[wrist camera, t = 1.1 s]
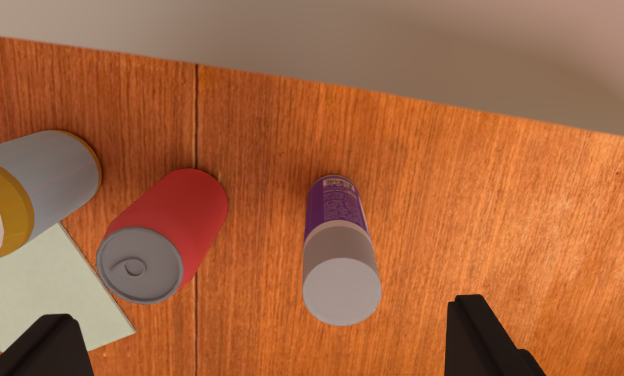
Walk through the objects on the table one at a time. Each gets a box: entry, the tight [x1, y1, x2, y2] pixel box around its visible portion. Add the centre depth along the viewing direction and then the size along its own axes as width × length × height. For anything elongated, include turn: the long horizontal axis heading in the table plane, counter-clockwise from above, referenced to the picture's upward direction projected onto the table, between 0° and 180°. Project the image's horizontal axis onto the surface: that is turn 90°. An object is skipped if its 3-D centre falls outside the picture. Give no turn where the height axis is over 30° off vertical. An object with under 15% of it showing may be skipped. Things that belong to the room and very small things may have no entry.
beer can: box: [96, 168, 228, 305], centre depth 32 cm, size 7×7×12 cm
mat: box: [0, 221, 136, 353], centre depth 40 cm, size 20×14×1 cm
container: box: [302, 175, 382, 326], centre depth 30 cm, size 5×5×15 cm
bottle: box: [0, 130, 102, 258], centre depth 30 cm, size 7×7×15 cm
